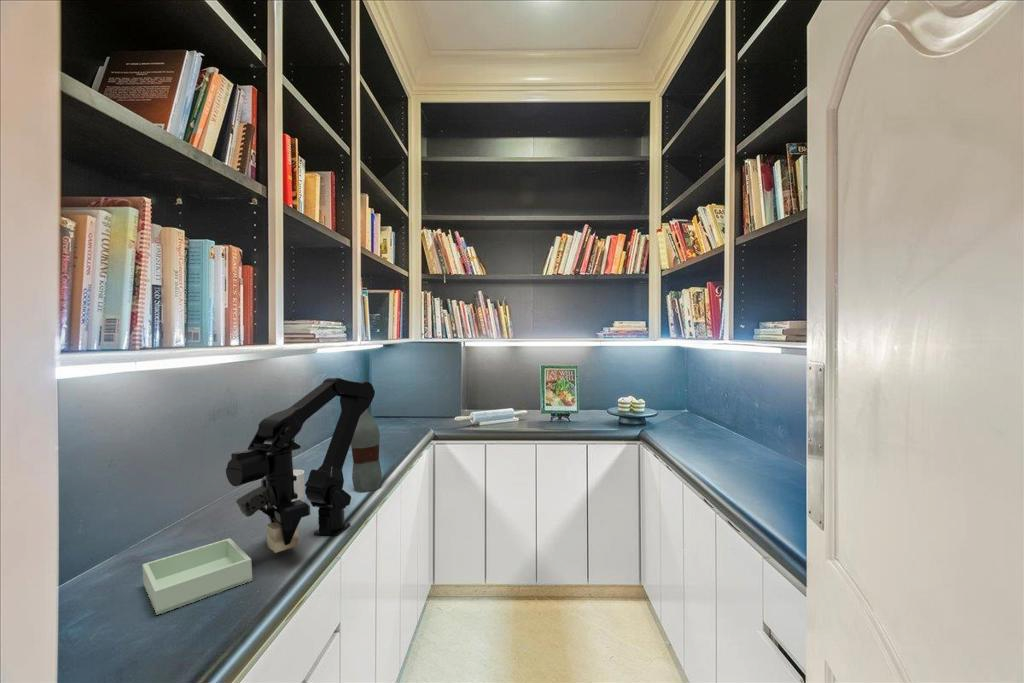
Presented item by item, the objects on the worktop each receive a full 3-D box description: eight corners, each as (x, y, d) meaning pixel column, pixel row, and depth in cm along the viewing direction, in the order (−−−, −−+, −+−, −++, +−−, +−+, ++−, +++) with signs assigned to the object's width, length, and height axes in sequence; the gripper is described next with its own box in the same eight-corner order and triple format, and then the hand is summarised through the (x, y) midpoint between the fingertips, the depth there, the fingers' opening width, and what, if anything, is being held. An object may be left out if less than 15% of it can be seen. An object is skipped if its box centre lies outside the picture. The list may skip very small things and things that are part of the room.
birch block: (290, 538, 110) (289, 517, 110) (298, 545, 107) (297, 523, 107) (267, 546, 107) (266, 524, 107) (275, 552, 103) (274, 530, 103)
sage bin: (231, 557, 106) (229, 538, 106) (252, 581, 95) (251, 559, 95) (143, 586, 95) (142, 564, 95) (156, 616, 84) (155, 591, 84)
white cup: (311, 506, 137) (309, 472, 137) (283, 515, 131) (281, 479, 131) (299, 501, 142) (297, 468, 142) (271, 509, 137) (269, 474, 136)
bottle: (367, 482, 158) (362, 393, 158) (388, 484, 154) (383, 393, 154) (346, 491, 150) (341, 397, 149) (368, 494, 146) (363, 397, 145)
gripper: (227, 474, 108) (231, 541, 108) (253, 490, 94) (257, 567, 94) (279, 463, 115) (282, 526, 116) (309, 476, 102) (313, 548, 102)
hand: (283, 541), depth 107 cm, fingers closed on birch block, 5 cm apart
